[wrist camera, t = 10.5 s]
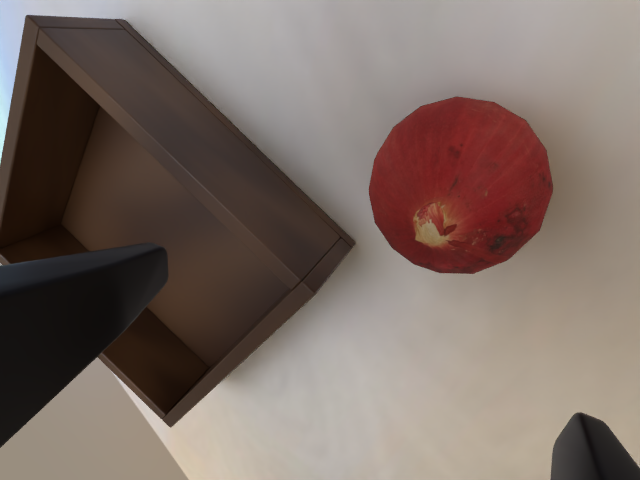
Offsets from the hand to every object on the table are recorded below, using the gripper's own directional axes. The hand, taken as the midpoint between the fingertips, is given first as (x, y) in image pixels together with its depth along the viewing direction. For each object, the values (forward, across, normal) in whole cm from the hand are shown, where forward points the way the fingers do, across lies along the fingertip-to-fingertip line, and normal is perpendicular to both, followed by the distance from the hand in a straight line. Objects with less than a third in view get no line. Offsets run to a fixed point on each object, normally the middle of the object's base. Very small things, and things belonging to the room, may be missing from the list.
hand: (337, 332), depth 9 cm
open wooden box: (+11, +14, +7) cm, 20 cm away
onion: (+12, -1, -1) cm, 12 cm away
